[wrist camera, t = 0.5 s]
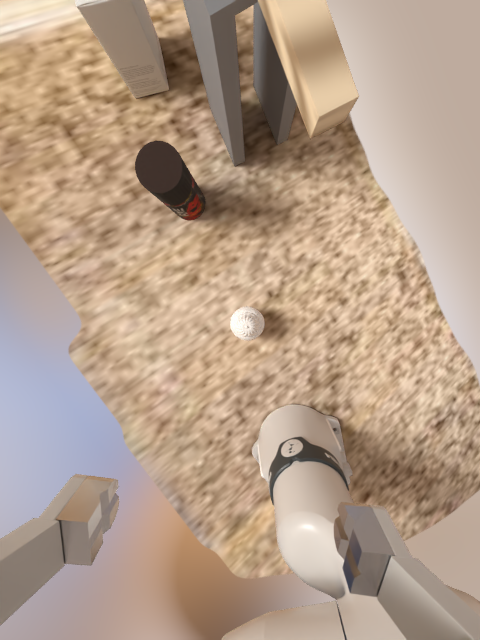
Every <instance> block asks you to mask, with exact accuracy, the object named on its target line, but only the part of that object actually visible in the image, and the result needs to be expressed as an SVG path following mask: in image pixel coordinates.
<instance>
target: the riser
mask: <svg viewBox="0 0 480 640" xmlns="http://www.w3.org/2000/svg"><path fill="white" fill-rule="evenodd" d="M183 2H184V6H185V10H186V14H187V18H188V22H189V25H190V29H191V33H192V37H193V41H194V45H195V49H196V53H197V57H198V61H199V65H200V69H201V73H202V77H203V81H204V85H205V89H206V93H207V97H208V101H209V105H210V109H211V111H212V114H213V116H214V119H215V121H216V123H217V126H218V128H219V130H220V133H221V135H222V138H223V140H224V142H225V145H226V147H227V150H228V152H229V154H230V157H231V159H232V161H233V164H234V166H237V165H239V164H241V163H243V162H245V153H244V139H243V124H242V110H241V95H240V80H239V66H238V51H237V37H236V22H235V15H236V14H238V13H240V12H242V11H243V10H245V9H247V8H248V7H250V6H252V5H254V81H253V86H254V88H255V91H256V93H257V96H258V98H259V101H260V103H261V106H262V109H263V111H264V114H265V116H266V119H267V121H268V124H269V126H270V129H271V131H272V134H273V136H274V139H275V142H276V144H277V145H278V144H280V143H282V142H284V141H286V140H288V136H289V132H290V128H291V124H292V120H293V116H294V112H295V108H296V104H297V103H296V100H295V98H294V95H293V92H292V90H291V87H290V84H289V82H288V79H287V76H286V74H285V71H284V68H283V66H282V63H281V60H280V58H279V55H278V52H277V50H276V47H275V44H274V42H273V39H272V37H271V34H270V31H269V29H268V26H267V23H266V21H265V18H264V15H263V13H262V10H261V7H260V5H259V2H258V0H183Z"/></svg>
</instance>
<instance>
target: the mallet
mask: <svg viewBox="0 0 480 640" xmlns="http://www.w3.org/2000/svg"><path fill="white" fill-rule="evenodd" d="M258 2H259V5H260V7H261V10H262V13H263V15H264V18H265V21H266V23H267V26H268V29H269V31H270V34H271V37H272V39H273V42H274V44H275V47H276V50H277V52H278V55H279V58H280V60H281V63H282V66H283V68H284V71H285V74H286V76H287V79H288V82H289V84H290V87H291V90H292V92H293V95H294V98H295V100H296V103H297V106H298V108H299V111H300V114H301V116H302V119H303V122H304V124H305V127H306V130H307V132H308V135H309V138H310V139H311V138H313V137H315V136H317V135H319V134H321V133H323V132H325V131H327V130H329V129H331V128H333V127H335V126H337V125H339V124H341V123H343V122H344V121H345V119H346V118H347V116H348V114H349V113H350V111H351V109H352V107H353V106H354V104H355V102H356V101H357V99H358V97H359V95H358V92H357V89H356V87H355V84H354V81H353V78H352V75H351V72H350V69H349V66H348V63H347V60H346V57H345V55H344V52H343V49H342V46H341V43H340V40H339V37H338V34H337V31H336V28H335V25H334V22H333V20H332V17H331V14H330V11H329V8H328V5H327V2H326V0H258Z"/></svg>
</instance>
